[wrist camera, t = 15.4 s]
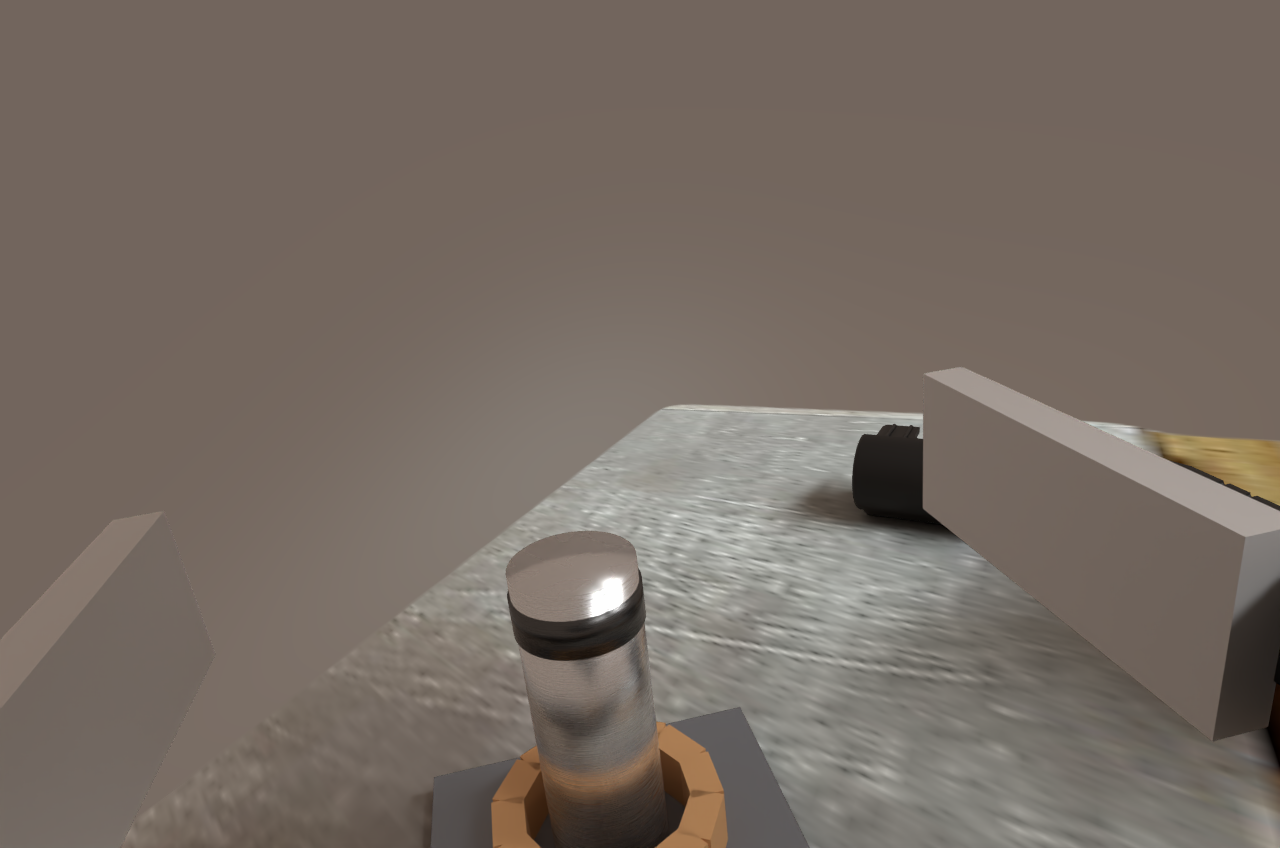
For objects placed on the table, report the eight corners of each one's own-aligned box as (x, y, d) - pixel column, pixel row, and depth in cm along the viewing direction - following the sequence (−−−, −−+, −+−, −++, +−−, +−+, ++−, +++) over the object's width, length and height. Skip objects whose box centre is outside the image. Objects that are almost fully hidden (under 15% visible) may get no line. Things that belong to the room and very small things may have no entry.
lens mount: (741, 725, 43) (736, 667, 42) (847, 947, 31) (846, 875, 30) (438, 795, 41) (424, 736, 40) (427, 1065, 29) (406, 992, 28)
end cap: (851, 529, 62) (850, 448, 60) (874, 491, 68) (874, 416, 66) (992, 549, 58) (996, 462, 55) (1004, 507, 63) (1008, 426, 61)
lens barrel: (657, 785, 38) (625, 520, 34) (685, 876, 34) (652, 582, 29) (548, 811, 38) (500, 544, 33) (560, 908, 33) (506, 611, 28)
